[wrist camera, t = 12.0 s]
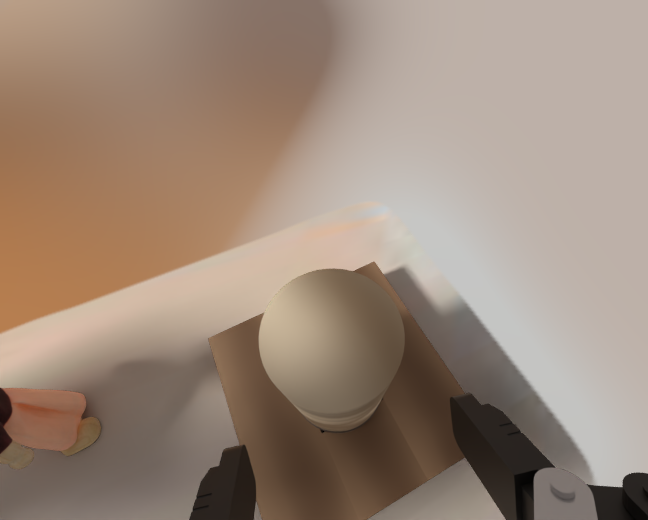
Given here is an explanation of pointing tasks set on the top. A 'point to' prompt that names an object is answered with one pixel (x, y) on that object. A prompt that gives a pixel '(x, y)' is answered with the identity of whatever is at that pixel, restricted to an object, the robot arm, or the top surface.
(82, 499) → the top surface
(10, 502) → the top surface
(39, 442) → the grandmother figurine
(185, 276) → the top surface
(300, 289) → the beech peg
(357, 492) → the walnut board
